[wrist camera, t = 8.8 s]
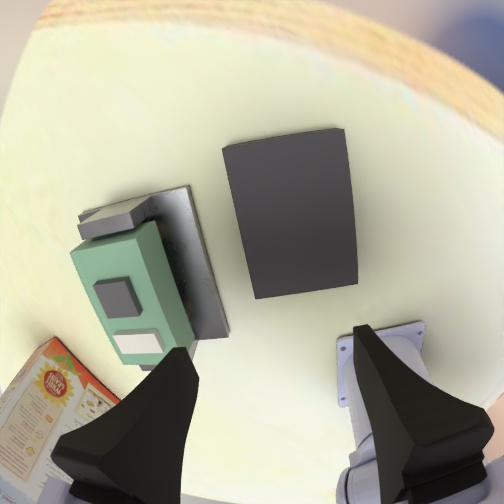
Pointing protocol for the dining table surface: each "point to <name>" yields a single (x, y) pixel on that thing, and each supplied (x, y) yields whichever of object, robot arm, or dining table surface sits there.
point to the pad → (295, 211)
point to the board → (134, 293)
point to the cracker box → (44, 418)
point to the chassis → (171, 253)
